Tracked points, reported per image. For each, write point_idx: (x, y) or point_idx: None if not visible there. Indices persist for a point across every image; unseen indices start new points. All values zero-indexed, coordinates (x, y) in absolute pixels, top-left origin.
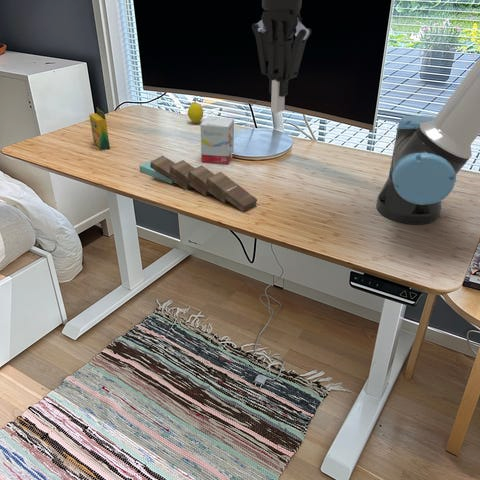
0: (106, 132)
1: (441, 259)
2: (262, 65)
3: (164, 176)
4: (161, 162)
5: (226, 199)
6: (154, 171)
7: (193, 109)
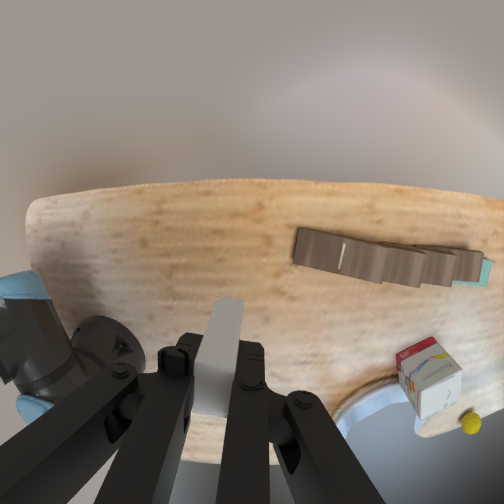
0: None
1: (43, 257)
2: (317, 426)
3: None
4: (472, 264)
5: None
6: None
7: (475, 422)
